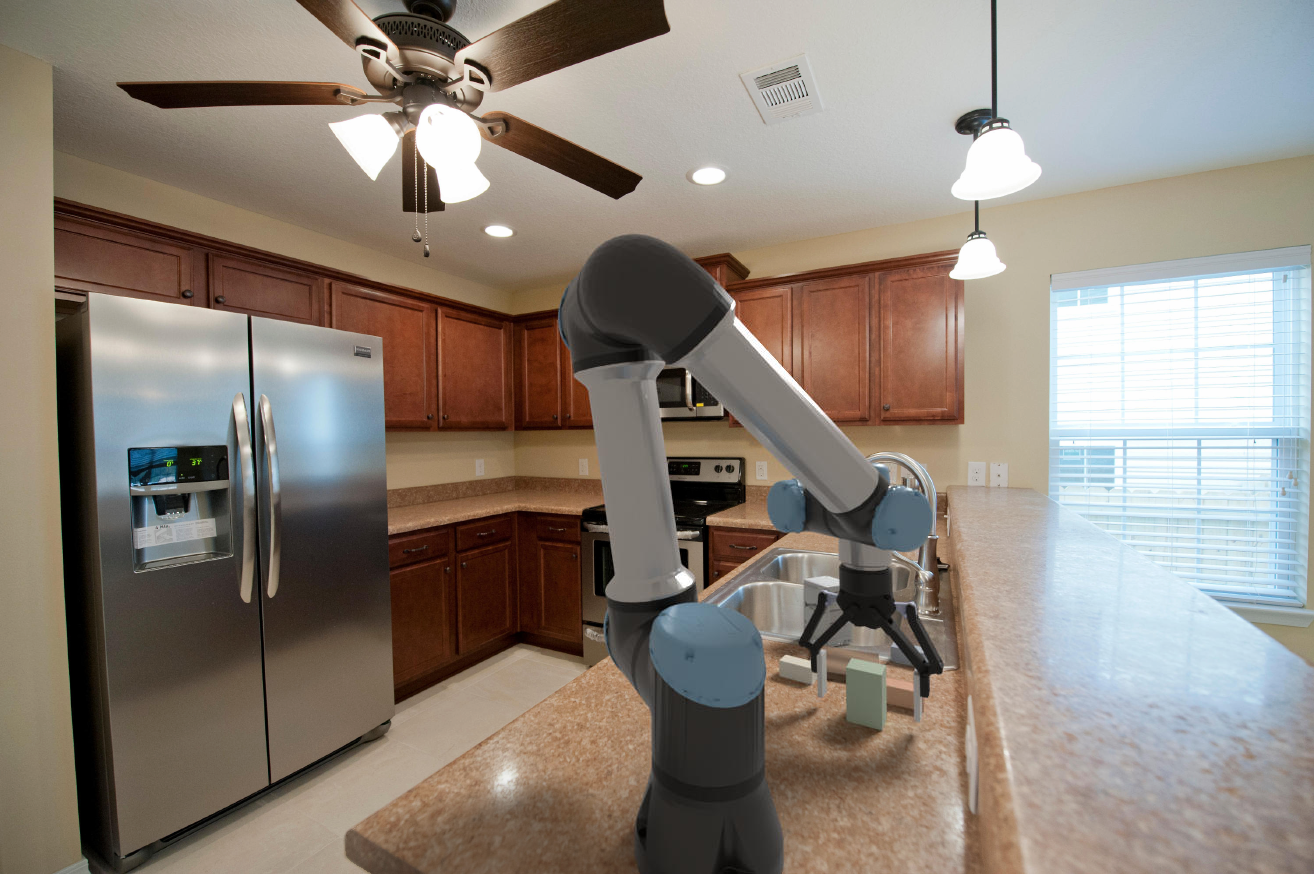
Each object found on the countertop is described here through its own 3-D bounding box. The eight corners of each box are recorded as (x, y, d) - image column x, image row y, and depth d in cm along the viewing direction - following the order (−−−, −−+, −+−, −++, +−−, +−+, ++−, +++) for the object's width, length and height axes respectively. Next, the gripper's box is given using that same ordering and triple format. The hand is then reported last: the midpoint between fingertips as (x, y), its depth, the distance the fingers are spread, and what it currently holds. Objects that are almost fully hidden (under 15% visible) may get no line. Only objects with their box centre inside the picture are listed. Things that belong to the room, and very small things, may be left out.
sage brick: (882, 730, 74) (881, 675, 74) (846, 720, 77) (845, 667, 77) (886, 718, 77) (886, 665, 78) (852, 709, 80) (851, 657, 80)
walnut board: (880, 686, 87) (880, 679, 87) (807, 675, 92) (807, 668, 92) (878, 659, 98) (878, 653, 98) (814, 650, 103) (814, 644, 103)
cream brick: (818, 679, 91) (817, 662, 91) (812, 686, 88) (812, 668, 88) (785, 670, 94) (785, 654, 94) (779, 676, 92) (779, 660, 92)
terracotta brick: (924, 704, 82) (924, 685, 82) (923, 712, 79) (923, 693, 79) (884, 695, 85) (884, 677, 85) (881, 703, 82) (881, 684, 82)
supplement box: (802, 637, 110) (801, 578, 111) (828, 631, 113) (828, 574, 114) (827, 649, 104) (826, 586, 104) (854, 643, 107) (853, 582, 107)
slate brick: (928, 664, 97) (928, 648, 97) (926, 669, 94) (925, 653, 94) (894, 656, 100) (894, 641, 100) (891, 662, 98) (890, 646, 98)
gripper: (961, 568, 74) (964, 716, 74) (791, 551, 87) (794, 676, 87) (959, 581, 68) (963, 742, 67) (777, 560, 81) (779, 694, 81)
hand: (868, 705), depth 77 cm, fingers open, 13 cm apart
